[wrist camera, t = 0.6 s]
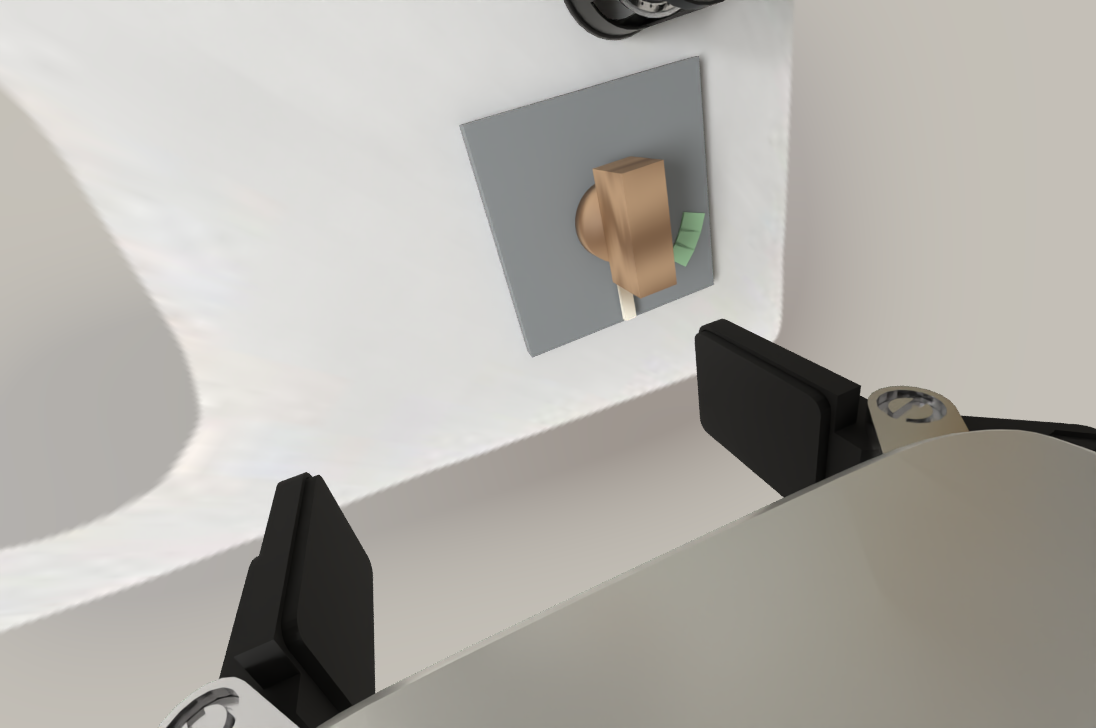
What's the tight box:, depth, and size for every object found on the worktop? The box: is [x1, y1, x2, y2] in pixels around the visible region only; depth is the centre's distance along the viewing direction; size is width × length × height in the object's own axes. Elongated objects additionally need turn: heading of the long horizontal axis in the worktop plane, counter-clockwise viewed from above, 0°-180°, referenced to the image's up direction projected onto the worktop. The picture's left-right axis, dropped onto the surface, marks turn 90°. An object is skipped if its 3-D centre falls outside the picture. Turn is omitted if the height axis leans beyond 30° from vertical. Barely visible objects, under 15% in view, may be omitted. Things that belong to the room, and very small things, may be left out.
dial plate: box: [459, 56, 714, 357], centre depth 44 cm, size 21×21×2 cm
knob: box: [575, 156, 677, 321], centre depth 42 cm, size 15×7×7 cm, turn 15°
